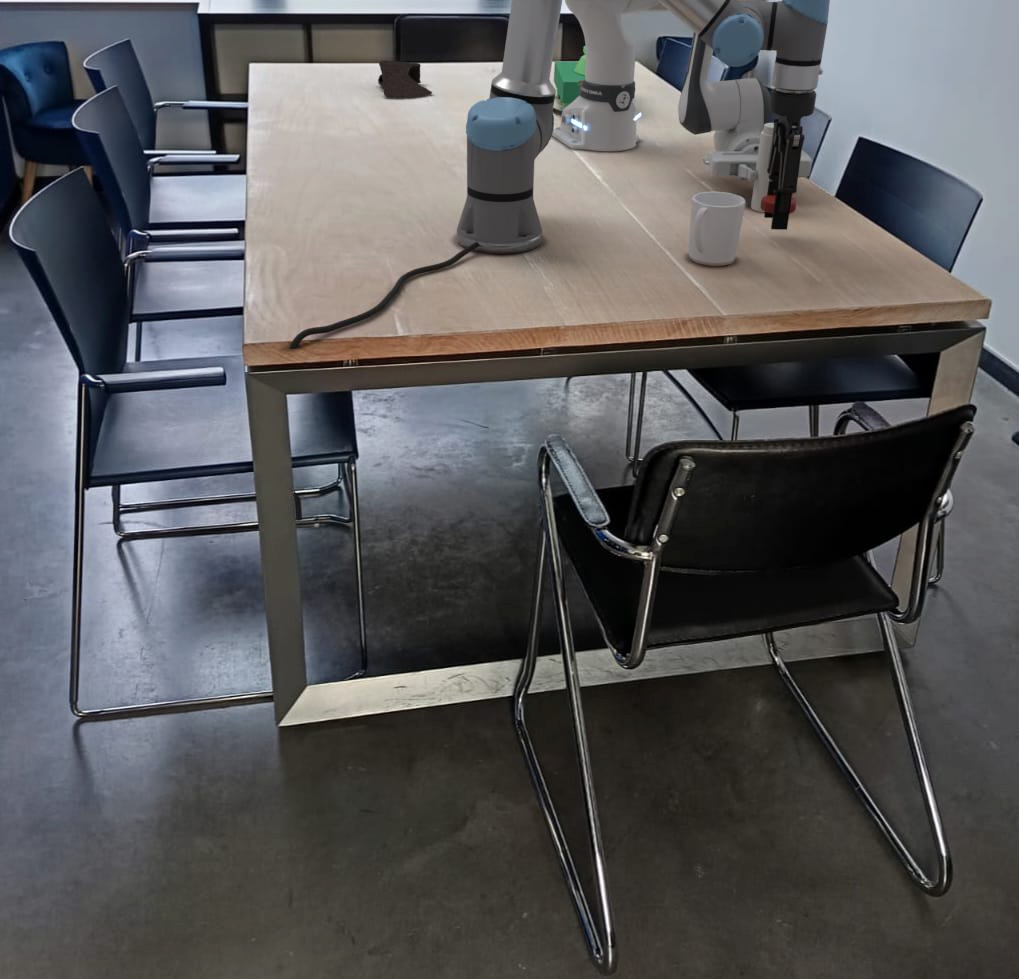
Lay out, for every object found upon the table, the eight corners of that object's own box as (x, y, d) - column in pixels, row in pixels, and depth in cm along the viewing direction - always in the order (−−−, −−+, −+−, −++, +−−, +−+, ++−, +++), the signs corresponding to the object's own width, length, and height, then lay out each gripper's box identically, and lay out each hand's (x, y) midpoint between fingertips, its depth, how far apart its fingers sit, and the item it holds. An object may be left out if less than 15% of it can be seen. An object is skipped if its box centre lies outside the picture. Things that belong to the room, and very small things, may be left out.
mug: (702, 245, 195) (709, 188, 190) (747, 257, 190) (755, 198, 185) (669, 261, 188) (675, 202, 182) (714, 274, 183) (722, 213, 177)
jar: (774, 213, 213) (787, 129, 204) (748, 210, 214) (760, 126, 206) (778, 206, 217) (790, 123, 208) (753, 203, 218) (764, 121, 210)
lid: (768, 201, 199) (769, 192, 199) (800, 207, 197) (801, 198, 196) (755, 210, 195) (756, 200, 194) (787, 216, 192) (789, 207, 191)
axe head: (443, 87, 294) (392, 77, 287) (436, 115, 299) (385, 106, 292) (421, 62, 307) (371, 52, 300) (414, 89, 311) (365, 80, 304)
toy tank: (616, 42, 301) (635, 67, 272) (613, 89, 308) (630, 118, 278) (553, 41, 300) (564, 66, 271) (550, 88, 307) (561, 117, 277)
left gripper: (829, 101, 177) (807, 240, 189) (804, 78, 193) (785, 207, 205) (783, 100, 177) (764, 239, 189) (761, 77, 193) (745, 206, 205)
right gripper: (701, 141, 220) (719, 159, 209) (800, 141, 222) (823, 159, 210) (698, 172, 224) (715, 192, 212) (795, 172, 225) (817, 191, 214)
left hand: (775, 222), depth 197 cm, fingers closed on lid, 6 cm apart
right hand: (770, 175), depth 211 cm, fingers closed on jar, 5 cm apart
